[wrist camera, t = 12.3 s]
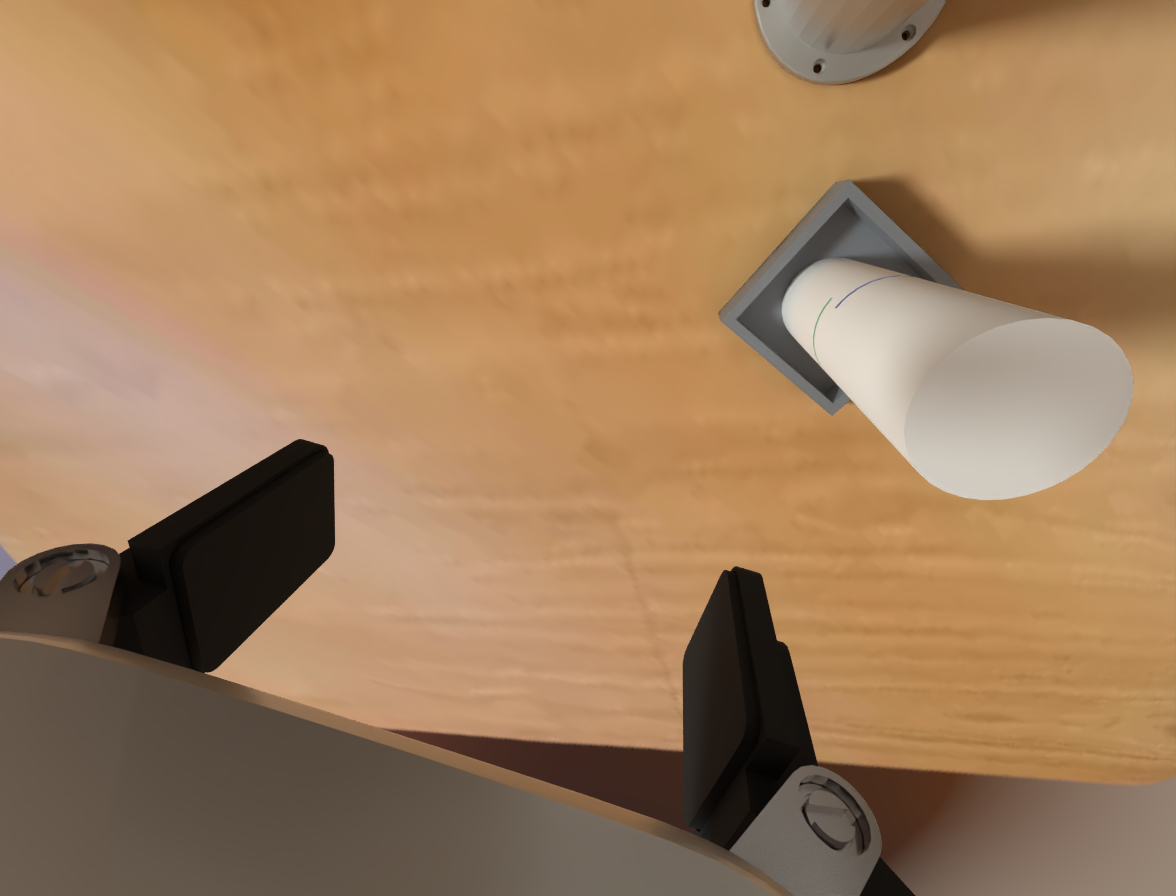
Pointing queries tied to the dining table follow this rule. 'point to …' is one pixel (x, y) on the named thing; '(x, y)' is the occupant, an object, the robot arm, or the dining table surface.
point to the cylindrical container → (962, 376)
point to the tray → (825, 232)
